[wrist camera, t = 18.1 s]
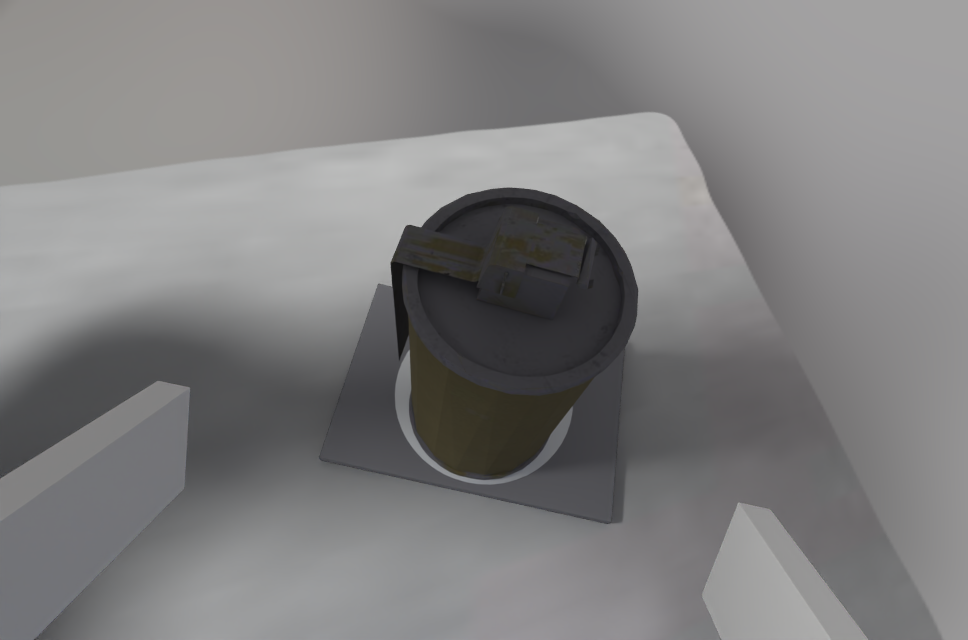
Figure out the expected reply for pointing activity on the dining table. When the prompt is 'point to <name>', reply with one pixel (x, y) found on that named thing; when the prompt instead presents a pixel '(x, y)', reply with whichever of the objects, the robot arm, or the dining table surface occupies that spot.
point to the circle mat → (396, 452)
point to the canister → (506, 323)
